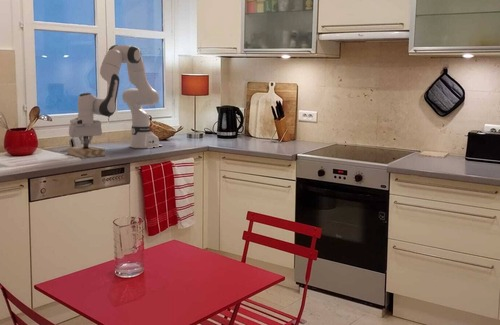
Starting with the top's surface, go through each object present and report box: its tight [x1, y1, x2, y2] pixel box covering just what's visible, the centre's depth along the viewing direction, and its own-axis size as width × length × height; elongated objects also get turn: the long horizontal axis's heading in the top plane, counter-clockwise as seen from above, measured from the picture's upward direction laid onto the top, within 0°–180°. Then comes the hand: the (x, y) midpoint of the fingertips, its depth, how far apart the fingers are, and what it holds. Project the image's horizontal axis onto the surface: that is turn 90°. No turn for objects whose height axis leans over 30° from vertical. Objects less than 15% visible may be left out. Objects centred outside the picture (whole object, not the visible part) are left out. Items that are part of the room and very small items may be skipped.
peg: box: [83, 136, 90, 149], centre depth 331 cm, size 3×3×9 cm
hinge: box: [68, 137, 91, 147], centre depth 354 cm, size 17×5×10 cm, turn 169°
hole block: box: [66, 145, 106, 159], centre depth 332 cm, size 14×18×4 cm
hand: (85, 143), depth 331 cm, fingers closed on peg, 3 cm apart
